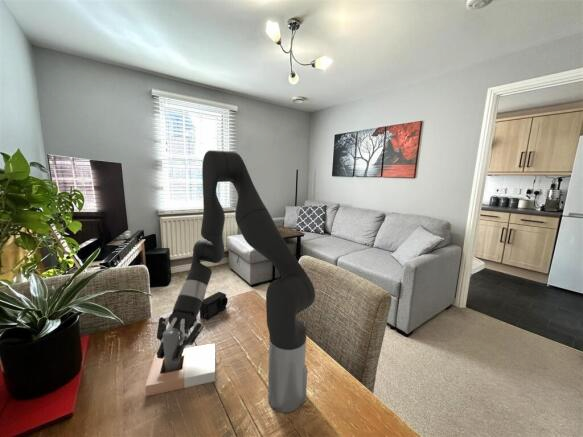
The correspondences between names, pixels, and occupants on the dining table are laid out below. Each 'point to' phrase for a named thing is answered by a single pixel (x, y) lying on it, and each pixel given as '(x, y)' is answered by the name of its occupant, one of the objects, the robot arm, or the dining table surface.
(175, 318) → the robot arm
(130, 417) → the dining table surface
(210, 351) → the block
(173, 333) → the pin
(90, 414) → the dining table surface
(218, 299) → the digital camera
